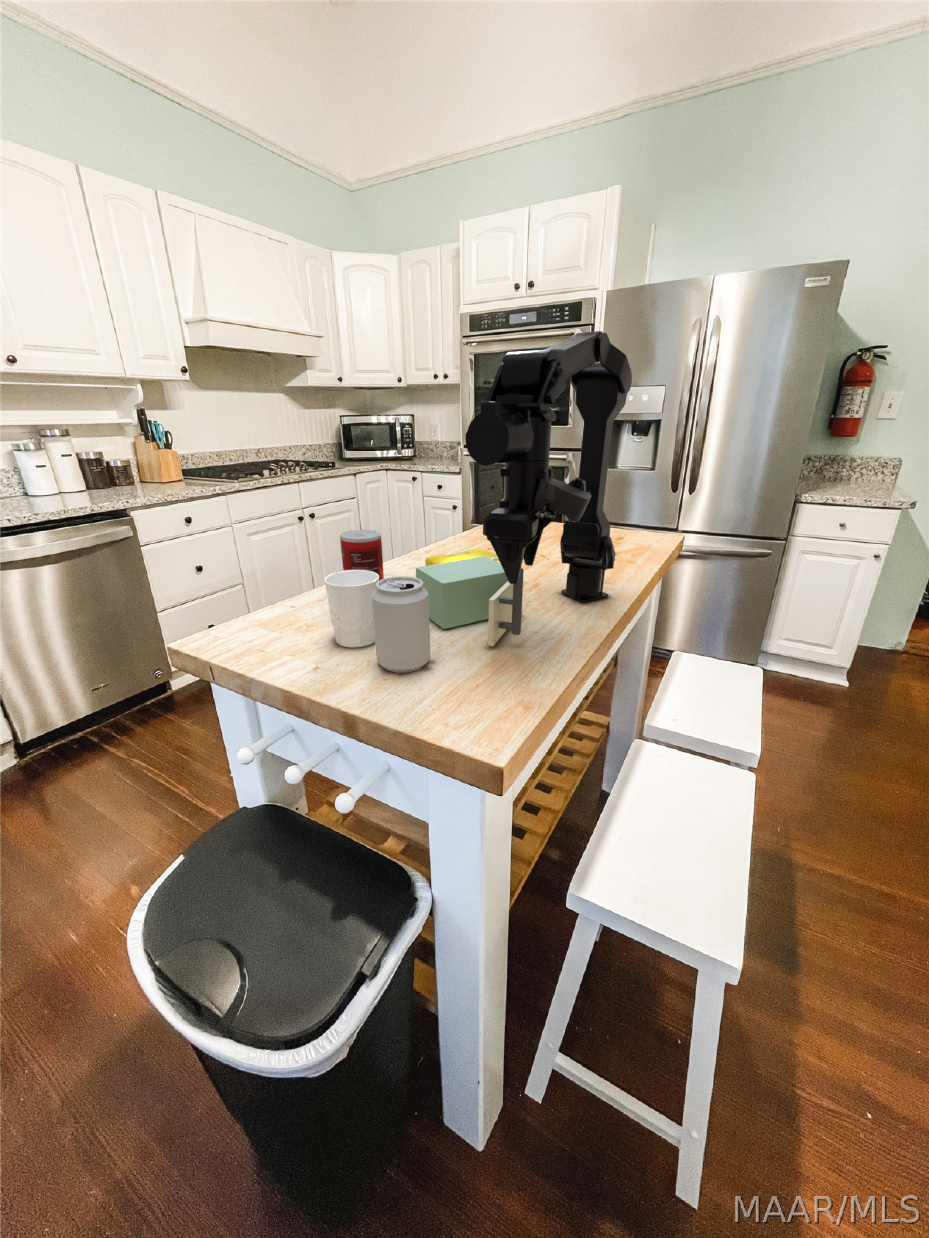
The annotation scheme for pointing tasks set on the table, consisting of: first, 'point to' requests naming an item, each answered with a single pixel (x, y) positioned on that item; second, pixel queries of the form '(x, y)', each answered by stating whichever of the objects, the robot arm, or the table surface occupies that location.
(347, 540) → the canned food
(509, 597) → the fridge door
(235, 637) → the table surface
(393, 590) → the can
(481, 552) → the element tile
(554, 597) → the table surface
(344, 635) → the white cup
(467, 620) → the mini fridge
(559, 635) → the table surface
